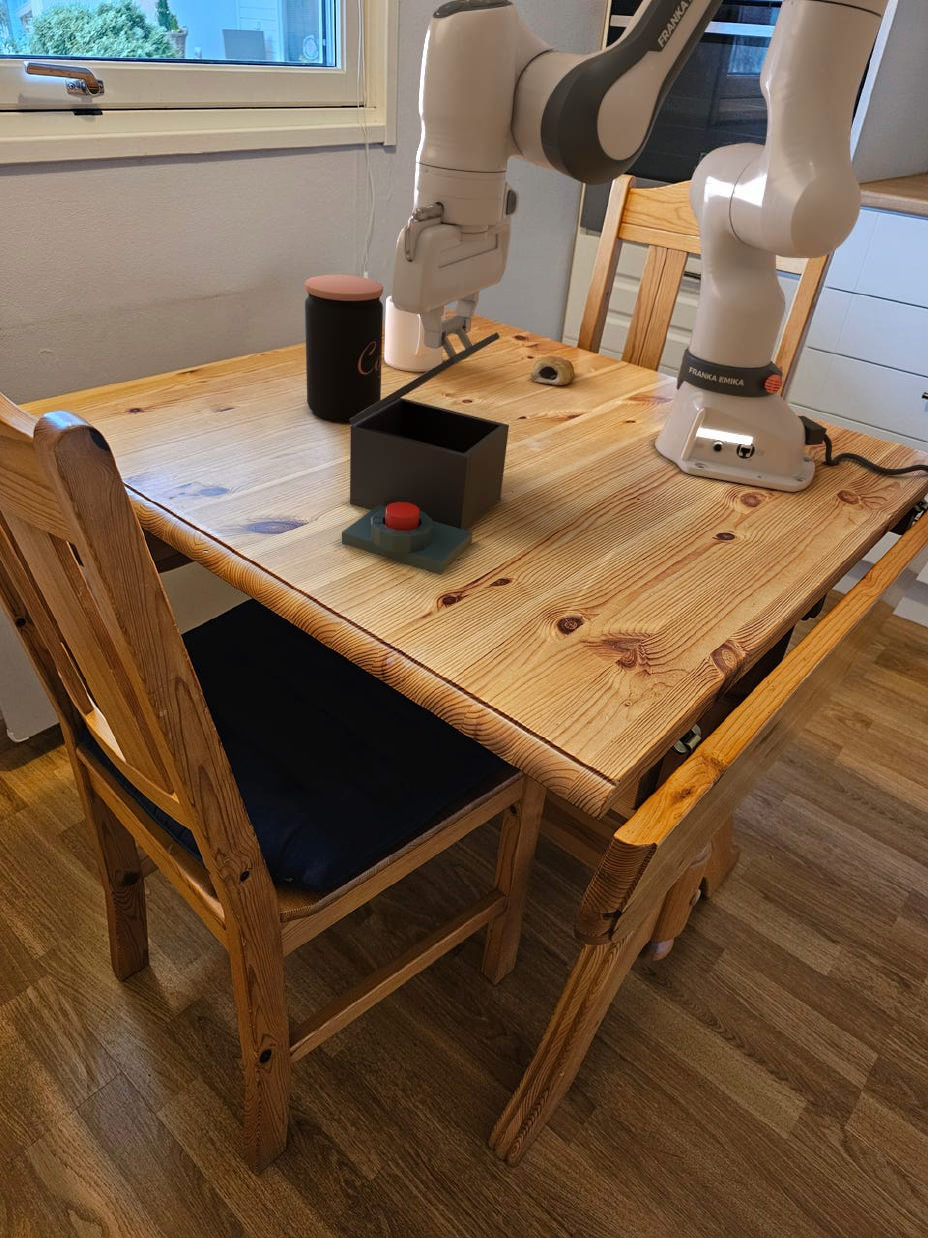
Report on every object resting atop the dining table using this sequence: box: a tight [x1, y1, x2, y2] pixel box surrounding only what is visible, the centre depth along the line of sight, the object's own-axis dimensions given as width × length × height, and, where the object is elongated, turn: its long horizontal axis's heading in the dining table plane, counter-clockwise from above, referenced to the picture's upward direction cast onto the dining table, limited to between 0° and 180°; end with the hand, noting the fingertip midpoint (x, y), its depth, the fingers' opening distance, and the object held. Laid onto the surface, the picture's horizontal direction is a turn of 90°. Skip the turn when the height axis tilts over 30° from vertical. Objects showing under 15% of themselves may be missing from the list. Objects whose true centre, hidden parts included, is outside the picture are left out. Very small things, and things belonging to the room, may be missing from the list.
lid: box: [349, 314, 501, 426], centre depth 95 cm, size 15×12×4 cm
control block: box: [341, 505, 473, 575], centre depth 93 cm, size 12×9×4 cm
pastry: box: [530, 355, 575, 386], centre depth 146 cm, size 9×7×4 cm
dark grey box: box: [349, 397, 510, 531], centre depth 100 cm, size 15×12×10 cm
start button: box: [385, 502, 420, 531], centre depth 91 cm, size 4×4×2 cm
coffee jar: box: [304, 274, 384, 424], centre depth 121 cm, size 11×11×18 cm
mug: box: [384, 295, 447, 373], centre depth 143 cm, size 13×10×10 cm
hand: (447, 339), depth 92 cm, fingers closed on lid, 5 cm apart
